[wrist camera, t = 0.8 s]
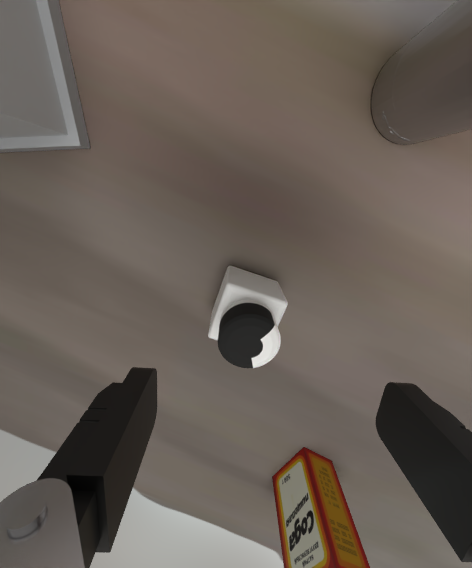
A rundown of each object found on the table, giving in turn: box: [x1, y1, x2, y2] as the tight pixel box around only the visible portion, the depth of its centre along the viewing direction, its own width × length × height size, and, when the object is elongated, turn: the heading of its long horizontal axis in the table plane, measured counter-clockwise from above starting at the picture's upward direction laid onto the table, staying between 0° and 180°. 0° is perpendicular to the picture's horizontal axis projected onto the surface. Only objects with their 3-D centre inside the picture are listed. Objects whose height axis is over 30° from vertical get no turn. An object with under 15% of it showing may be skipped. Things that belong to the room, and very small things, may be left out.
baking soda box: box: [272, 447, 370, 568], centre depth 40 cm, size 10×6×16 cm
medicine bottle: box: [208, 266, 288, 368], centre depth 29 cm, size 7×7×12 cm
